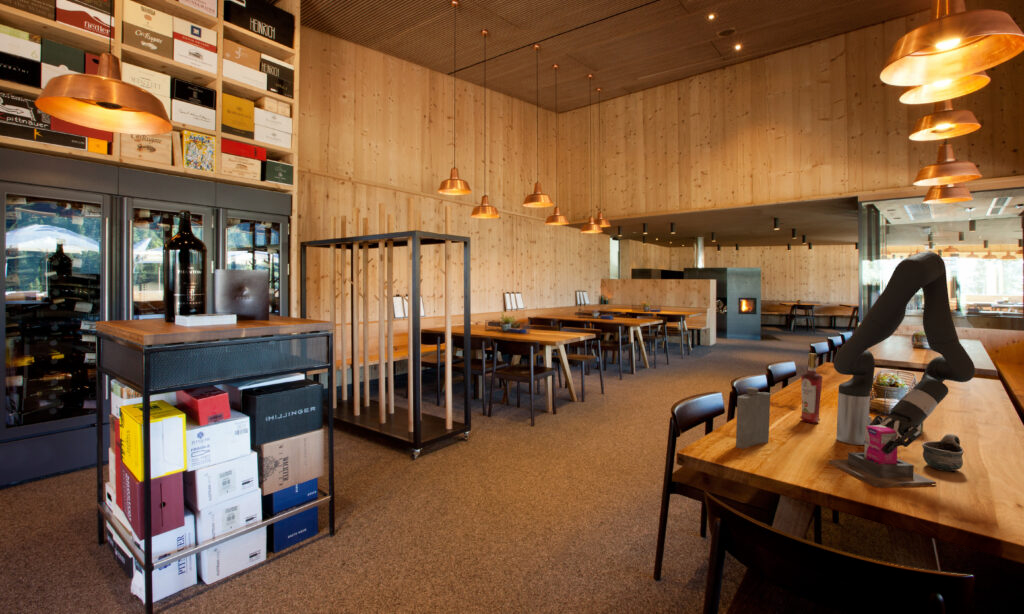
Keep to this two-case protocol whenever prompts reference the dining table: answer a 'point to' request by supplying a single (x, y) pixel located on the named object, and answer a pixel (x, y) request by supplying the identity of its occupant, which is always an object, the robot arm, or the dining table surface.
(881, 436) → the supplement box
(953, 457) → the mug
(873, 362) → the robot arm
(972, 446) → the dining table surface
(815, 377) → the liquor
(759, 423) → the hip flask
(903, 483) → the socket
